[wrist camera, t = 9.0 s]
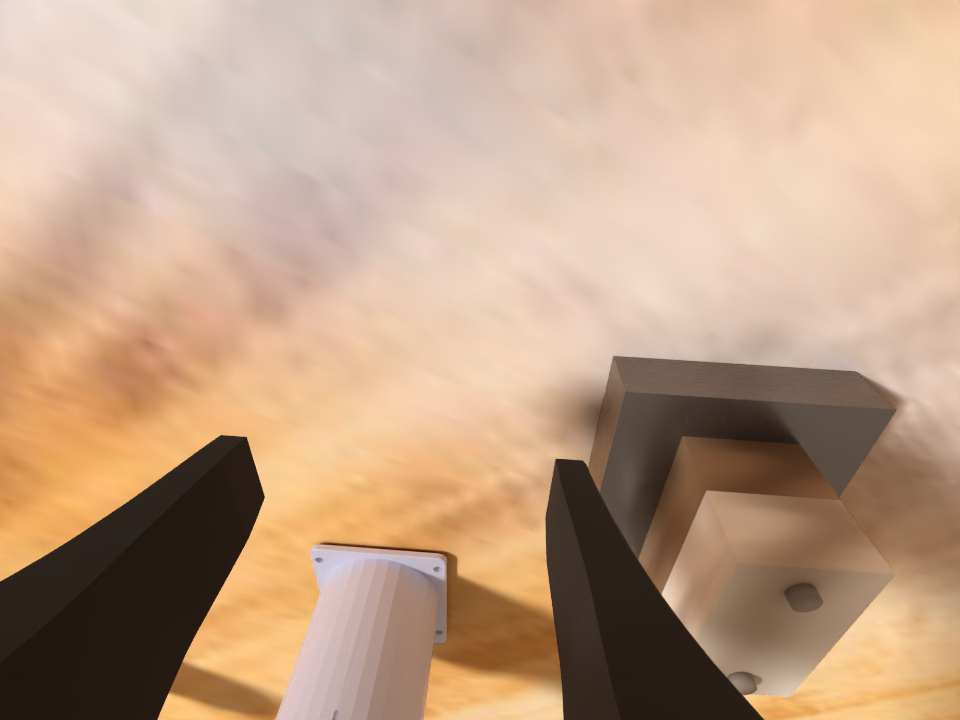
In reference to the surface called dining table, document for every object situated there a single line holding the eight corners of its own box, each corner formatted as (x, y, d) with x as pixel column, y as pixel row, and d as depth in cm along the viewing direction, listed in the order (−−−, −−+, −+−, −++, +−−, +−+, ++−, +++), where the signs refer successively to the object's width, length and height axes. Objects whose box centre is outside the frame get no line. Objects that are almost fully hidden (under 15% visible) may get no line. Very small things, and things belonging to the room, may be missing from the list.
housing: (800, 444, 19) (904, 587, 14) (733, 566, 23) (794, 709, 18) (682, 436, 19) (743, 575, 14) (638, 559, 23) (672, 698, 18)
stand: (760, 539, 26) (782, 583, 24) (575, 526, 26) (580, 567, 24) (855, 371, 20) (896, 409, 18) (613, 356, 20) (625, 391, 18)
